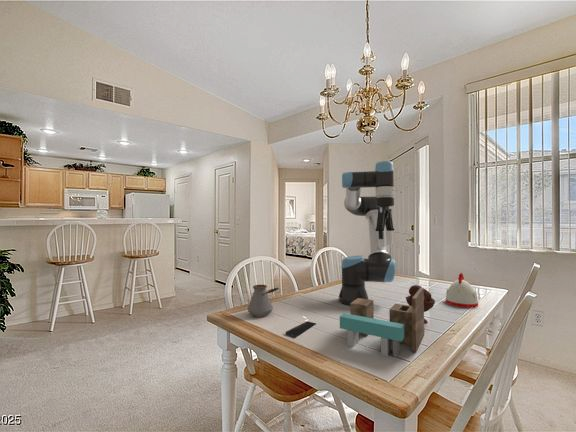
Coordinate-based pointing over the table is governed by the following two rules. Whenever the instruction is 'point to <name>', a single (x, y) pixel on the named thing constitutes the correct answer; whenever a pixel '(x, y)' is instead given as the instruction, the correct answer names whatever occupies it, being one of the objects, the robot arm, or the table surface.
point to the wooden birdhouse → (410, 320)
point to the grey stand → (385, 343)
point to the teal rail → (374, 328)
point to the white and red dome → (461, 294)
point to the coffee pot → (260, 301)
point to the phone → (299, 329)
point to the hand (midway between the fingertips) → (385, 246)
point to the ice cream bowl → (427, 298)
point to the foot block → (362, 309)
